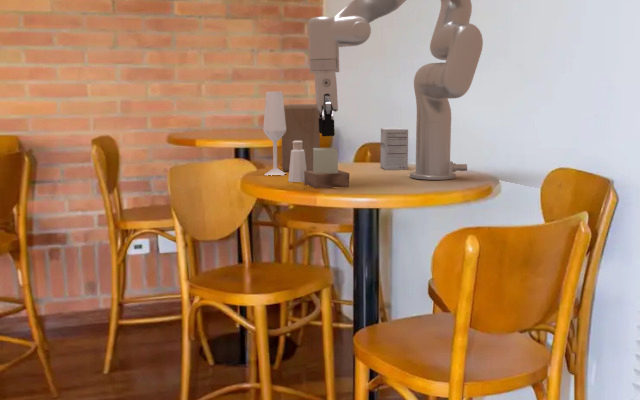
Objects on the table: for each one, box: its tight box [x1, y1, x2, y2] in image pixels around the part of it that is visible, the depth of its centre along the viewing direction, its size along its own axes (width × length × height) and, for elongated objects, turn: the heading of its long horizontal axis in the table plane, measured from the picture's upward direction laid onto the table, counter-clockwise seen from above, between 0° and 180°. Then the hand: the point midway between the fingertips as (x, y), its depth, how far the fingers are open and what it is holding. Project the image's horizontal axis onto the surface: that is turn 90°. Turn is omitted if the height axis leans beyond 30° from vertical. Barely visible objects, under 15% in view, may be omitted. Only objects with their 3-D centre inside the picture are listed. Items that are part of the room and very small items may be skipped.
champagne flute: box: [262, 91, 287, 177], centre depth 207 cm, size 7×7×24 cm
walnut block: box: [303, 169, 350, 189], centre depth 185 cm, size 9×9×4 cm
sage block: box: [313, 147, 339, 174], centre depth 184 cm, size 6×6×6 cm
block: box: [281, 103, 321, 172], centre depth 218 cm, size 10×10×20 cm
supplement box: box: [379, 126, 409, 171], centre depth 221 cm, size 7×7×13 cm
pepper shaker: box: [288, 141, 307, 183], centre depth 193 cm, size 5×5×11 cm
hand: (326, 134), depth 183 cm, fingers open, 9 cm apart
